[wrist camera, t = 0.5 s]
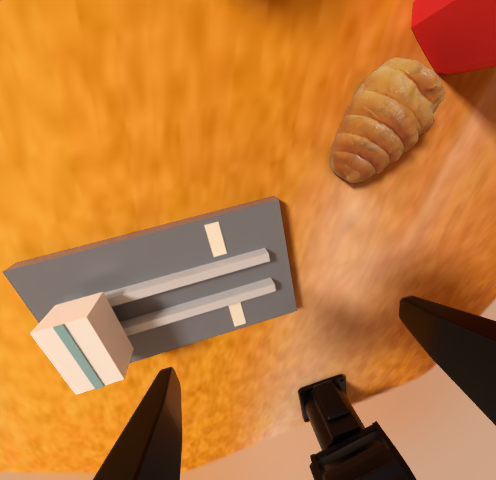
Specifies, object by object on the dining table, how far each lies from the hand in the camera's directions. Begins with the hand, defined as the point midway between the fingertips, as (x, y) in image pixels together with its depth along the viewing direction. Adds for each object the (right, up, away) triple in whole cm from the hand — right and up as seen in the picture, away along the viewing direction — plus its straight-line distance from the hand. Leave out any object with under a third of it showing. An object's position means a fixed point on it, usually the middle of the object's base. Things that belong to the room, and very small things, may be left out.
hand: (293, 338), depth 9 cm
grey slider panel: (-9, -1, +14) cm, 17 cm away
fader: (-14, -3, +12) cm, 19 cm away
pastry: (+9, +14, +13) cm, 21 cm away
